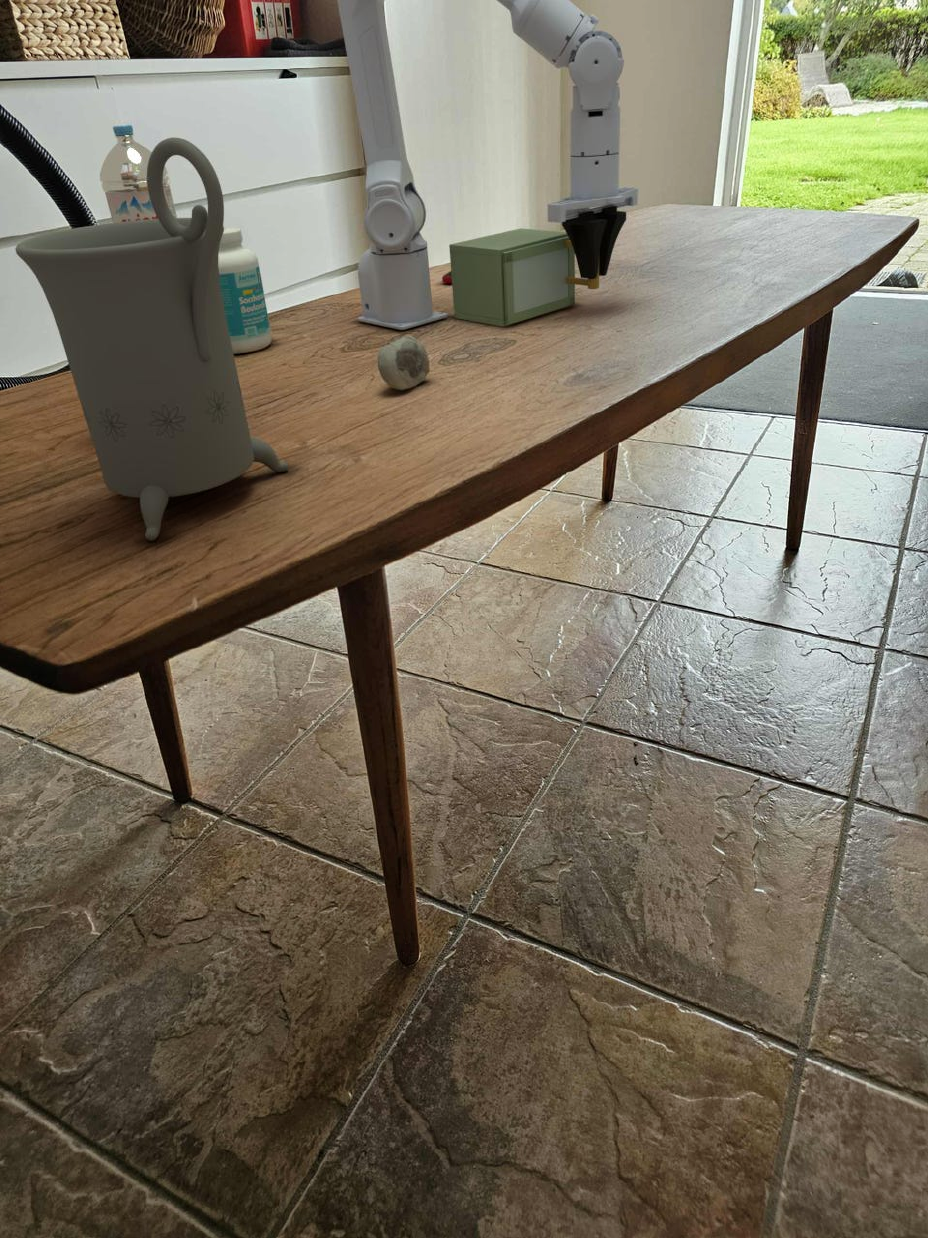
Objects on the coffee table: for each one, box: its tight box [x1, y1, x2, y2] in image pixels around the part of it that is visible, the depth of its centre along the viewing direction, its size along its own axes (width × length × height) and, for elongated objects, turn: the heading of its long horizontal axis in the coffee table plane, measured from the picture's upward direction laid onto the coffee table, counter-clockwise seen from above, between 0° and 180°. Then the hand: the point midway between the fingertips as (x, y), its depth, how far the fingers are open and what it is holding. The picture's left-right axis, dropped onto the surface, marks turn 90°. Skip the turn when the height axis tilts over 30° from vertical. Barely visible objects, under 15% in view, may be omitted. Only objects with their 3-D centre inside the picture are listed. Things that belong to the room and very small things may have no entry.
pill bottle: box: [218, 227, 273, 355], centre depth 105 cm, size 8×7×14 cm
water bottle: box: [99, 124, 178, 223], centre depth 94 cm, size 7×7×25 cm
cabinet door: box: [503, 237, 600, 326], centre depth 107 cm, size 13×5×8 cm, turn 133°
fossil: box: [377, 334, 430, 391], centre depth 89 cm, size 6×3×5 cm, turn 152°
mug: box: [14, 137, 289, 542], centre depth 63 cm, size 19×15×25 cm
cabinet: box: [448, 227, 572, 328], centre depth 112 cm, size 13×9×9 cm
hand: (593, 276), depth 109 cm, fingers closed on cabinet door
